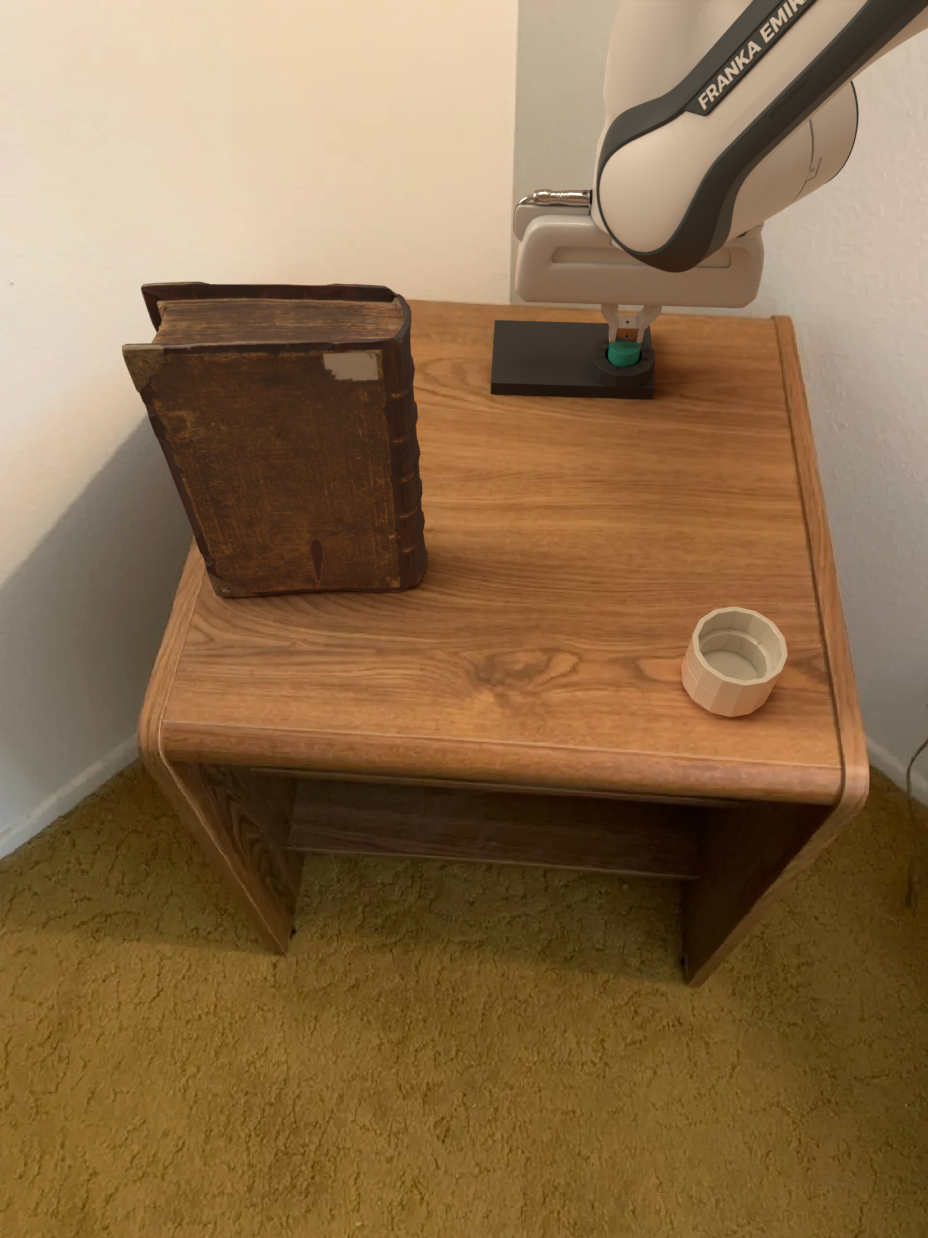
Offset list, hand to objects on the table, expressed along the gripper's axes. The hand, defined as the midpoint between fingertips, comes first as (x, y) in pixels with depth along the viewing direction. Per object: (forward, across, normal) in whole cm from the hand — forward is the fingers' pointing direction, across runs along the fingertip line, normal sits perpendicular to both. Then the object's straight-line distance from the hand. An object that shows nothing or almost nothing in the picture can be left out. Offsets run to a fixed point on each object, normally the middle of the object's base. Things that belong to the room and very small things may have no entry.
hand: (624, 338), depth 83 cm
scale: (+5, -4, +2) cm, 7 cm away
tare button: (+2, 0, 0) cm, 2 cm away
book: (+5, -24, -24) cm, 35 cm away
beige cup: (+5, +7, -32) cm, 33 cm away
